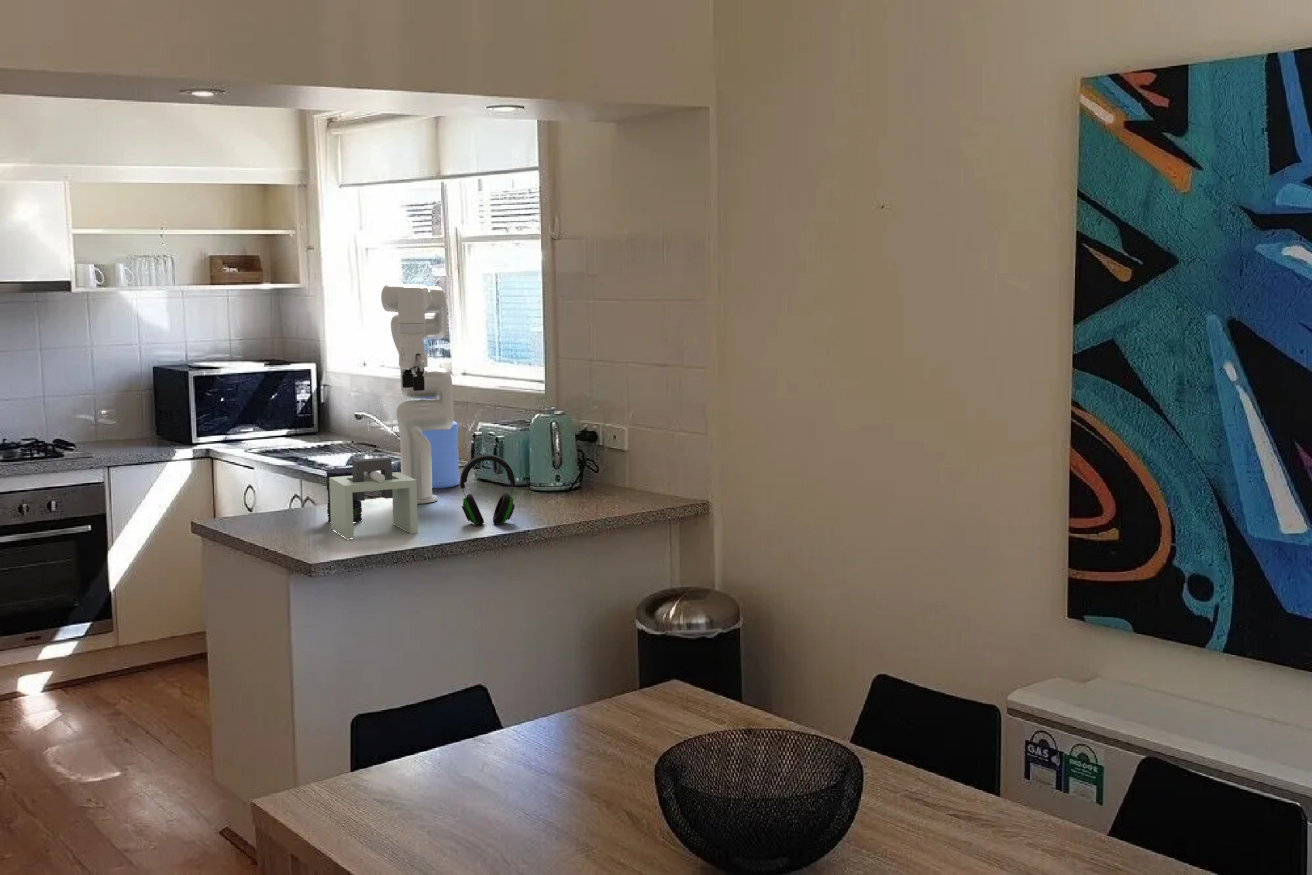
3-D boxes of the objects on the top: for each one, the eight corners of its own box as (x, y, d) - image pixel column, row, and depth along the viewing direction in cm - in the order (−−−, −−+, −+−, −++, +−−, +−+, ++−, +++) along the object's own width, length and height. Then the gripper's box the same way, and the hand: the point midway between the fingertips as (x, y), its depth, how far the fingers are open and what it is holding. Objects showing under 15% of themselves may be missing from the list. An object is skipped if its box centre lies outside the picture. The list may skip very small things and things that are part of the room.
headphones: (517, 526, 399) (516, 456, 396) (462, 528, 395) (460, 458, 393) (513, 520, 408) (512, 452, 405) (459, 522, 405) (458, 453, 402)
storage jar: (324, 519, 409) (323, 469, 407) (358, 517, 413) (356, 466, 411) (331, 525, 400) (329, 474, 398) (365, 522, 404) (363, 471, 402)
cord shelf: (331, 530, 394) (328, 468, 391) (400, 523, 403) (398, 463, 400) (346, 540, 380) (344, 476, 377) (417, 533, 389) (416, 471, 386)
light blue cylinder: (468, 483, 471) (467, 401, 468) (437, 490, 458) (435, 405, 454) (433, 479, 480) (431, 398, 476) (402, 486, 466) (399, 402, 463)
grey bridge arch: (353, 498, 389) (352, 459, 388) (388, 495, 394) (387, 457, 393) (357, 501, 386) (356, 461, 384) (392, 498, 391) (391, 459, 389)
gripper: (390, 328, 407) (391, 387, 409) (408, 331, 392) (410, 392, 394) (415, 327, 410) (416, 385, 412) (434, 330, 395) (435, 391, 397)
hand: (413, 389), depth 403 cm, fingers open, 9 cm apart
